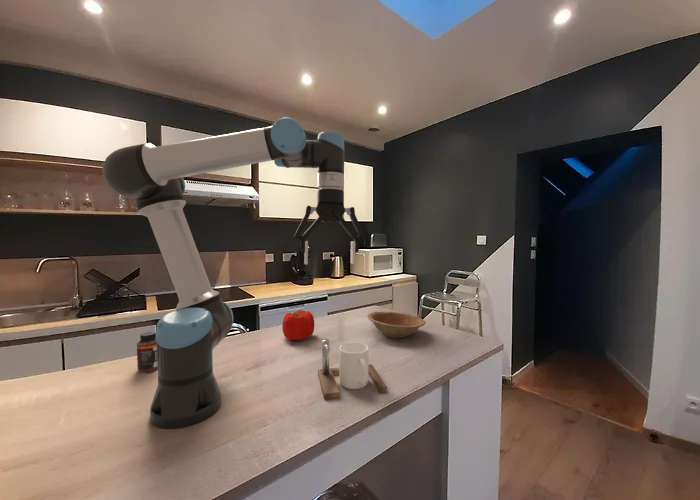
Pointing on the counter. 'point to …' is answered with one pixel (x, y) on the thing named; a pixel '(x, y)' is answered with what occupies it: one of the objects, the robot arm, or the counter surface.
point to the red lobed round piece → (298, 325)
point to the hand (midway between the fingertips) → (329, 263)
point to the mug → (353, 365)
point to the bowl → (396, 323)
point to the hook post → (325, 356)
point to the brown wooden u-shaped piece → (331, 387)
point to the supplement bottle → (147, 352)
